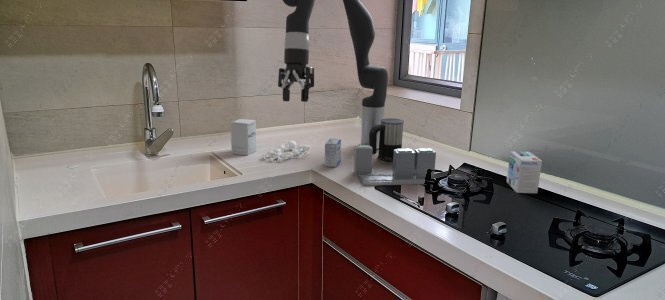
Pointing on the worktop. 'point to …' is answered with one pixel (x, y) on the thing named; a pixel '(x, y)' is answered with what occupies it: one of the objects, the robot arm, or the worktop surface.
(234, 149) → the supplement box
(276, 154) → the white lumpy mound
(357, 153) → the block
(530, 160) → the light bulb box
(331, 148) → the medicine box
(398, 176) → the grey module rack
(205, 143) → the worktop surface
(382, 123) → the milk frother
